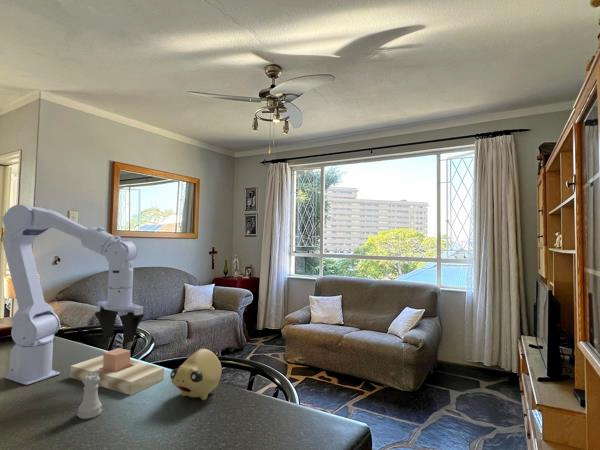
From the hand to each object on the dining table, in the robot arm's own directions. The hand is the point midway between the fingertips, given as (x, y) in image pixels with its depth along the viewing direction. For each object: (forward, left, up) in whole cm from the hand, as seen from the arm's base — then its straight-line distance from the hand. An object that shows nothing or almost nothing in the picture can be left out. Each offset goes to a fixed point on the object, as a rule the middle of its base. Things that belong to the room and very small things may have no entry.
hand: (118, 339), depth 92 cm
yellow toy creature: (+25, +1, -10) cm, 27 cm away
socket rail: (0, 0, -10) cm, 10 cm away
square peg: (0, 0, -10) cm, 10 cm away
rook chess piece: (+11, -15, -10) cm, 21 cm away
